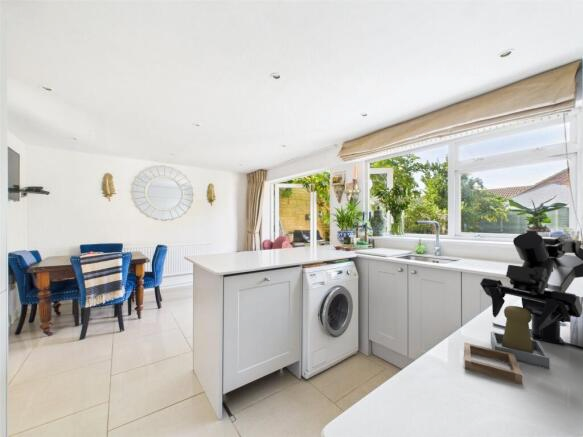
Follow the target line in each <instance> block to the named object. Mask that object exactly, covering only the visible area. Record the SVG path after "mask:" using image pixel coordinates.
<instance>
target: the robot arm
mask: <svg viewBox="0 0 583 437" xmlns="http://www.w3.org/2000/svg"><path fill="white" fill-rule="evenodd" d="M512 242H513V245H514V248H515V250H516V252H517V254H518V256H519V259H520V260H523V263H522V265H515V264H514V265H513V264H508V265H507V270H506V273H505V277H506V278H508V279H510V280H509V283H510V285H512V286H513V287H512V286H508V285H503V283H502V281H501V279H497V278H496V279H495V278H491V277H490V278H489V277H483V278H482V279H481V281H480V282H479V283H480V286H481V288H482V289H483V291H484V293H485V295H487V296H488V297H490V298H491V303H492V304H491V307H492V309H491V311H492V316H493V317H494V318H497V317H498V316H499V313H500V312H501V310H502V308H503V305H504V304H505V299H504V298H505V296H506V295H510V296H514V297H519V298H521V305H522V306H521V307H522V308H525V309H527V310H528V311H530V313H531V316H532V319H531V328H529V329H530V336H531V339H533V340H537V341H544V342H549V343H555V344H558V345H566V341H565V340H564V339H563V338H562V337H561V323H571V322H572V317H574V318H581V317H582V313H583V306H582V304H581V301H580V299H579V296H578V295H576V294H575V293H570V292H566V291H567V290H568V288H569V287H570V285H571V284H572V283H573V281H574V280H575V279H576V278H578V279H579V278H583V247H581V246H580V243H579V241H577V240H573V239H563V238H562V237H558V236H541V235H540V234H539V233H538V230H533V229H532V230H529V229H527V230H526V232H524V233H521V234H518V235H517V236H515V237H514V238H513V241H512ZM566 253H567V254H566ZM568 253H569V254H568ZM570 254H574V255H570Z"/></svg>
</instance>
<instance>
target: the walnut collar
mask: <svg viewBox="0 0 583 437" xmlns="http://www.w3.org/2000/svg"><path fill="white" fill-rule="evenodd" d="M463 348H464V349H463V350H464V369H465V370H469V371H471V372H475V373H478V374H481V375H486V376H489V377H493V378H496V379H500V380H504V381H507V382H509V383H514V384H518V385H521V386H522V385H523V373H522V371H521V369H520V366H519V362H517V360H516V358H515V355H514V354H512V353H508V352H504V351H499V350H495V349H493V348H491V347H486V346H482V345H478V344H477V345H476V344H472V343H468V342H464V347H463ZM471 355H475V356H479V357H483V358H486V359H490V360H496V361H498V362H504V363H506V364H508V367H509V368H506V367H502V366H498V365H494V364H490V363H487V362H483V361H478V360H476V359H472V358H471Z"/></svg>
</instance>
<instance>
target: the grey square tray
mask: <svg viewBox="0 0 583 437" xmlns="http://www.w3.org/2000/svg"><path fill="white" fill-rule="evenodd" d="M503 336H504V333H501V332H496V331H492V330H491V331H490V341H491V346H492V349H495V350H499V351H504V352H508V353H512V354H514V355H515V358H516V360H517V363H523V364H526V365H530V366H535V367H539V368H543V369H548V370H550V364H551V362H550V361H551V360H550V358H551V357H550V356H549V355H548V353H547V352H546V350H545V349H544V347H543V345H542V344H541V343H540V340H538V339H533V338H531V342H532V348H533V353H529V352H524V351H520V350H515V349H511V348H506V347H502V342H503Z"/></svg>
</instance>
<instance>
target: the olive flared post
mask: <svg viewBox="0 0 583 437" xmlns="http://www.w3.org/2000/svg"><path fill="white" fill-rule="evenodd" d="M503 314H504V317H505V318H506V321H505V327H504V331H503V334H504V336H503V342H502V347H506V348H511V349H515V350H520V351H524V352H529V353H533V348H532V342H531V339H532V336H531V335H530V329H531V328H530V324H529V323H530V322H532V314H531V313H530V311H528V310H527V309H525V308H523V306H515V305H508V306H506V307H504V309H503Z"/></svg>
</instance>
